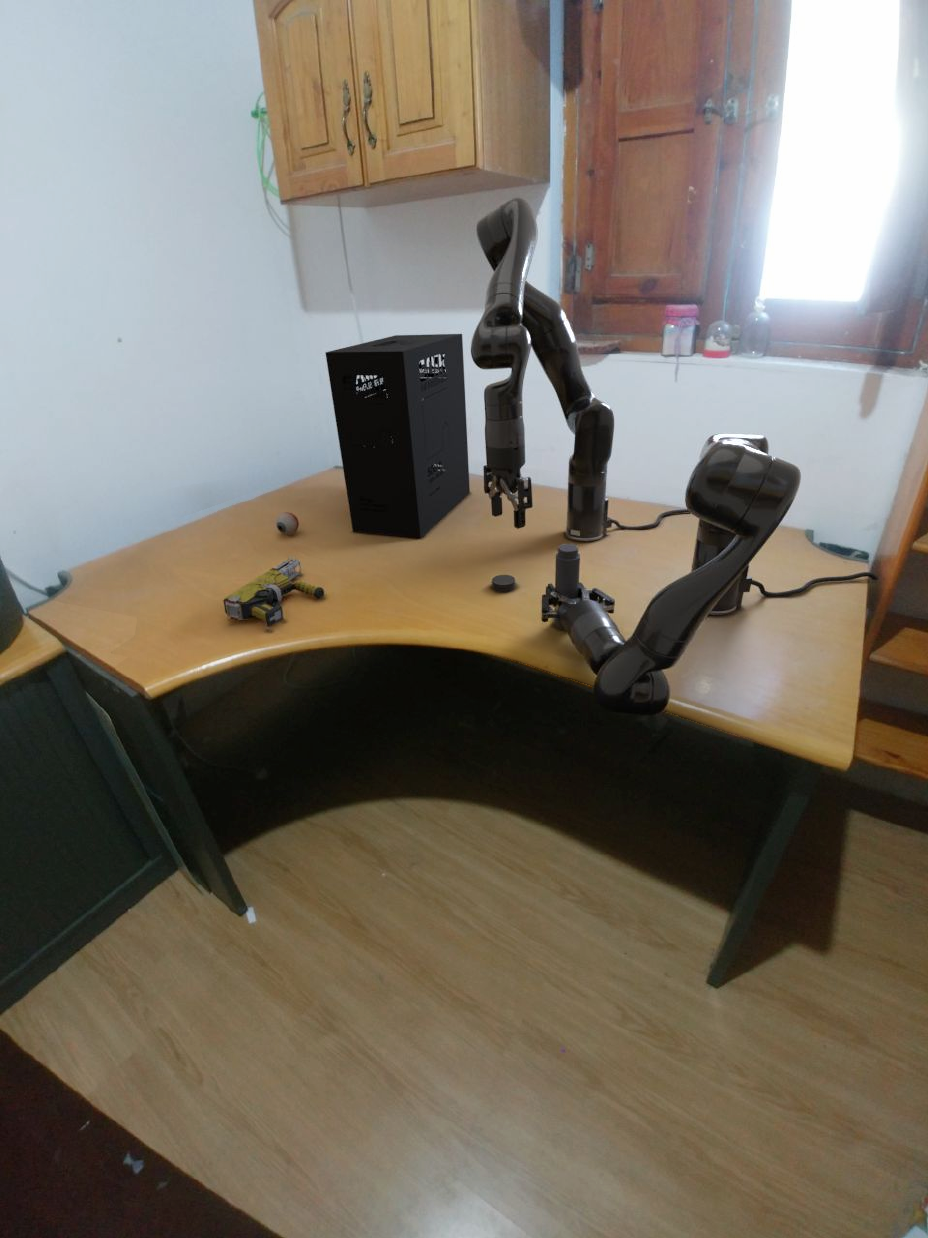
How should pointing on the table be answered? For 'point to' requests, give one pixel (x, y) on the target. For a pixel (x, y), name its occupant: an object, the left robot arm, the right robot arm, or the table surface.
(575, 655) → the table surface
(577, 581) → the grey cylindrical tube
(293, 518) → the eyeball
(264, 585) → the toy gun
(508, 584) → the lid
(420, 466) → the cardboard box
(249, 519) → the table surface
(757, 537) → the right robot arm
